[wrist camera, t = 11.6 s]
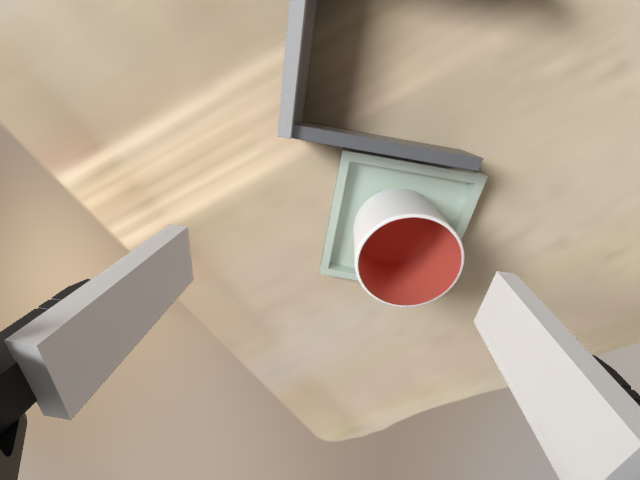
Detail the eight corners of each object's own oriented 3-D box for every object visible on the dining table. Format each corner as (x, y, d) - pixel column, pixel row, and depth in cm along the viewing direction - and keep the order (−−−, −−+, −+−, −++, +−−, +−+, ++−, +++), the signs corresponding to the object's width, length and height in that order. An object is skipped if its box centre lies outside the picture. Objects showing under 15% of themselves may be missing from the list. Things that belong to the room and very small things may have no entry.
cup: (339, 209, 36) (335, 244, 27) (415, 169, 33) (441, 193, 24) (374, 271, 39) (382, 321, 30) (447, 240, 36) (480, 284, 27)
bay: (311, -61, 26) (299, -113, 20) (522, -25, 26) (577, -67, 19) (290, 131, 33) (277, 136, 27) (456, 160, 33) (481, 173, 26)
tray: (342, 147, 33) (342, 150, 31) (480, 172, 33) (488, 176, 31) (320, 265, 40) (319, 273, 38) (434, 286, 40) (438, 295, 38)
